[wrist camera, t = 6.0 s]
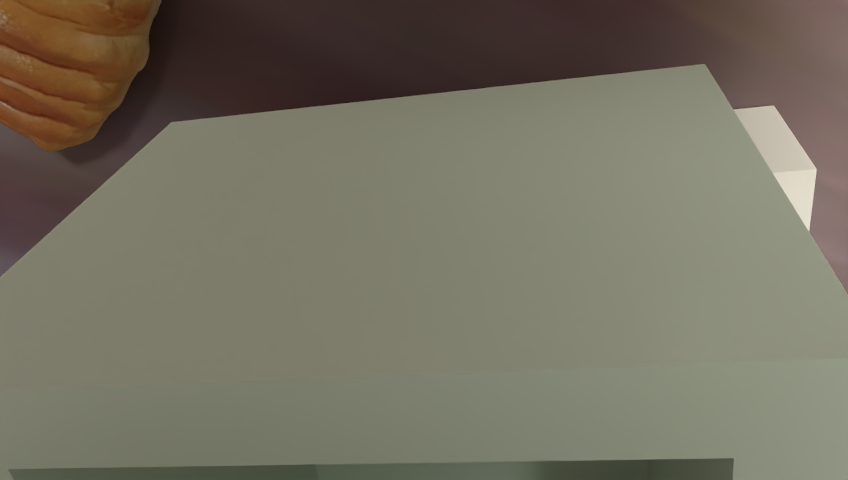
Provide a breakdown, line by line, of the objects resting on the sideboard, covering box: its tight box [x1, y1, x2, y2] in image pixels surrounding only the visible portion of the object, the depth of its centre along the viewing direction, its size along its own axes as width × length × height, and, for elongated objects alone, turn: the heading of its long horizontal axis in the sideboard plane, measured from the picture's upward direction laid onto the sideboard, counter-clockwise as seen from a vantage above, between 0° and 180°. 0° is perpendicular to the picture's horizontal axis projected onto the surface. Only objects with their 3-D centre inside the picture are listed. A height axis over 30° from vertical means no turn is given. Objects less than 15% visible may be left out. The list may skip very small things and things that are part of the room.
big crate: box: [734, 106, 817, 231], centre depth 28 cm, size 15×17×4 cm
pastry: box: [0, 0, 162, 152], centre depth 25 cm, size 9×7×4 cm
